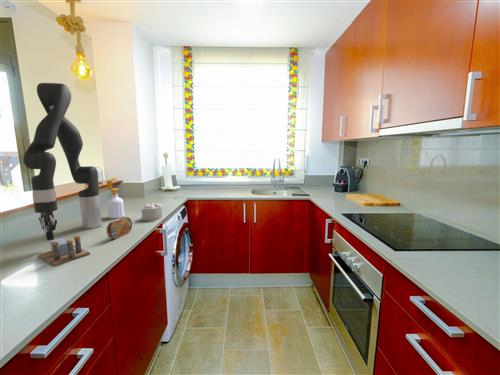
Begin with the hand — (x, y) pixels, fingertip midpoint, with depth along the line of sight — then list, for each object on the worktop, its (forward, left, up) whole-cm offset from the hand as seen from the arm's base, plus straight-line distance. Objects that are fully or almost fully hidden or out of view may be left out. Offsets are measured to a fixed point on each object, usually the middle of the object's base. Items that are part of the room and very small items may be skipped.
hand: (50, 239), depth 107 cm
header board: (+13, 0, -4) cm, 13 cm away
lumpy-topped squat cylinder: (-6, +55, -4) cm, 55 cm away
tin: (+9, +25, -4) cm, 27 cm away
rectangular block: (+10, 0, -3) cm, 11 cm away
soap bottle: (-27, +43, -4) cm, 51 cm away
